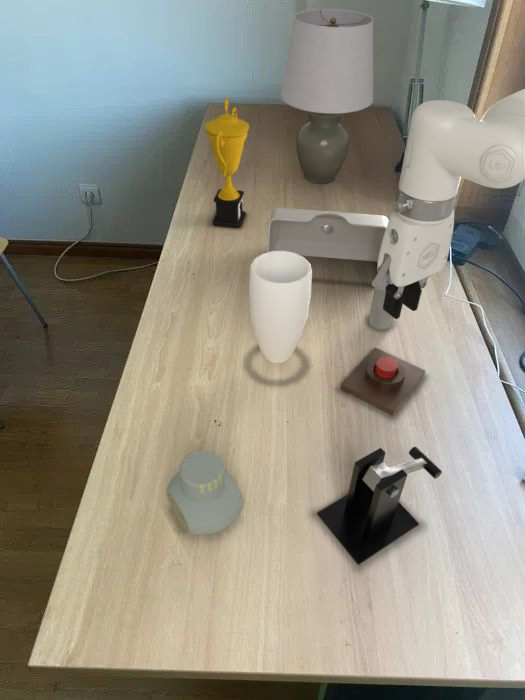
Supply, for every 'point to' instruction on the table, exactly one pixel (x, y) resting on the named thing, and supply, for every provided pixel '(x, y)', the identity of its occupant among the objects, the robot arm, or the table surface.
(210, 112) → the table surface
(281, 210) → the tank
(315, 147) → the lamp
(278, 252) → the cup
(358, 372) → the button block
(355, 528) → the black stand
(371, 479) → the lever
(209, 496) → the air freshener
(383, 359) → the button
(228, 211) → the trophy
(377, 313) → the grey cylinder
